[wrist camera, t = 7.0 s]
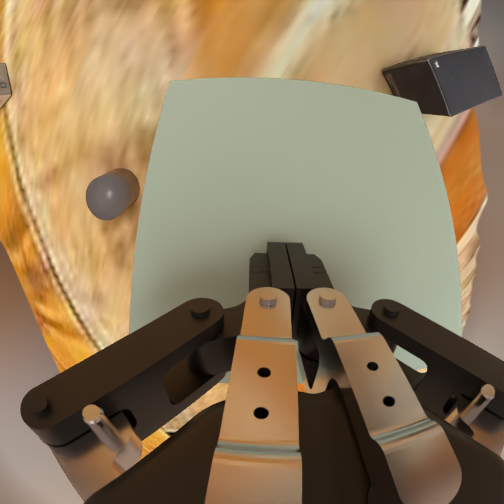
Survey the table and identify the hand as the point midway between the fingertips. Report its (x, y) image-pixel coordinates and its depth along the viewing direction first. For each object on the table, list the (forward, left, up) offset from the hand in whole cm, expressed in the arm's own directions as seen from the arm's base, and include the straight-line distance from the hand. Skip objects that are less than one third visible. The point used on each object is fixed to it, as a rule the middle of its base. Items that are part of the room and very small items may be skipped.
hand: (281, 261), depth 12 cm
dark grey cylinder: (+2, -18, -22) cm, 29 cm away
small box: (-14, +20, -22) cm, 33 cm away
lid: (-1, +2, -4) cm, 4 cm away
